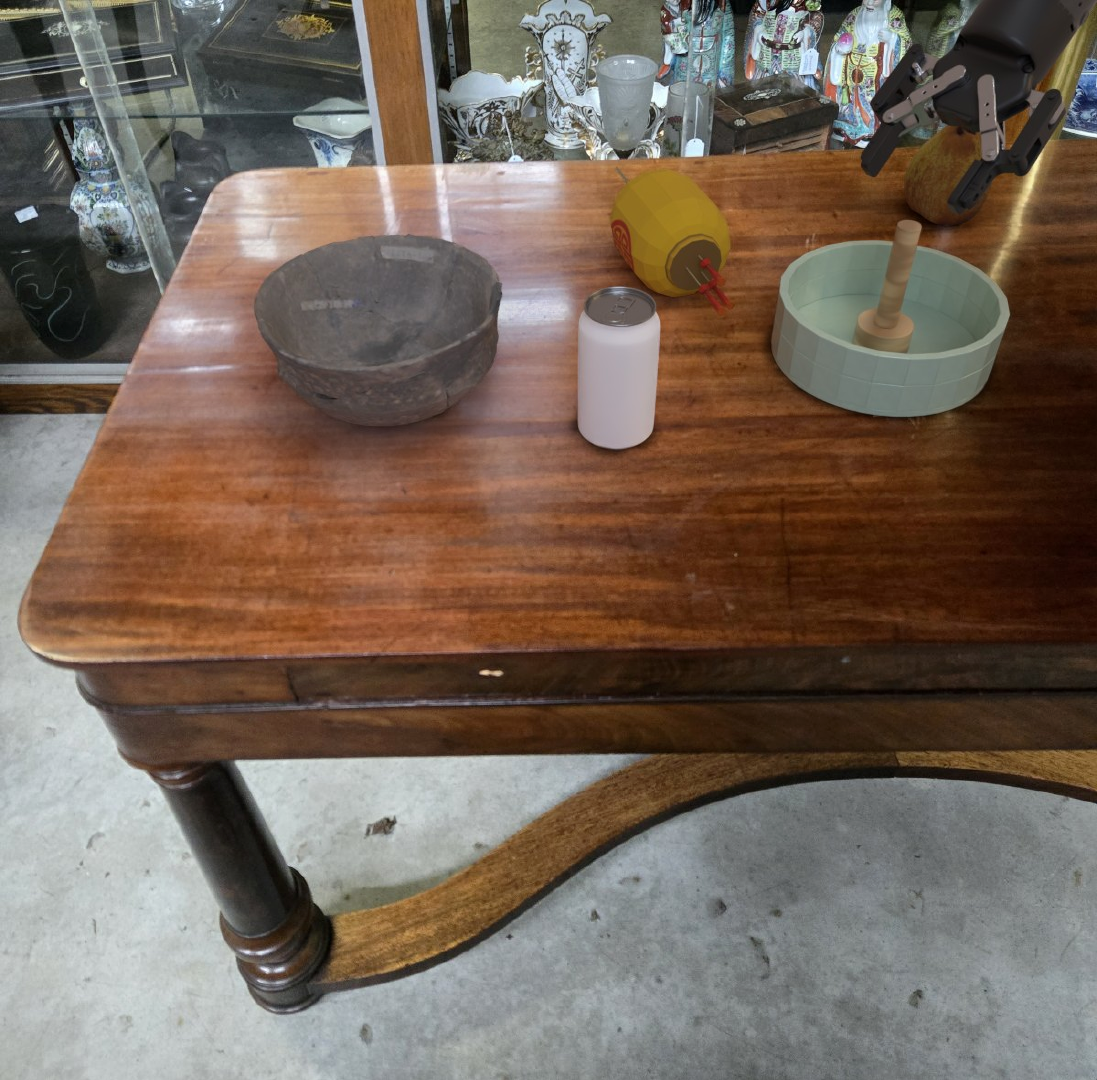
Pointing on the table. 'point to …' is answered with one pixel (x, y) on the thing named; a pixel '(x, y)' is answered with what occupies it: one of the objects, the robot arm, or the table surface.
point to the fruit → (942, 175)
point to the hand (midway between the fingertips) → (908, 190)
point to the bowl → (382, 326)
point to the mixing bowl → (878, 376)
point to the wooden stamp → (891, 298)
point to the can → (617, 367)
